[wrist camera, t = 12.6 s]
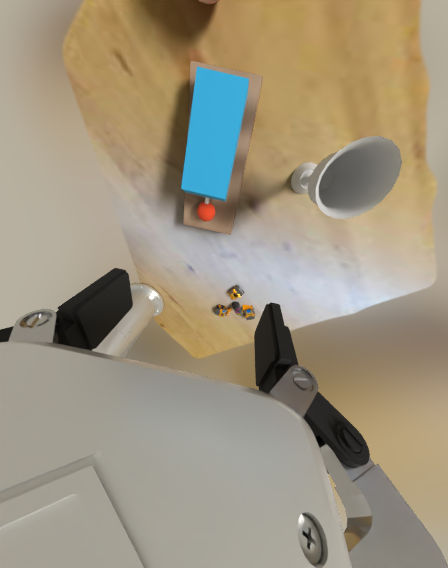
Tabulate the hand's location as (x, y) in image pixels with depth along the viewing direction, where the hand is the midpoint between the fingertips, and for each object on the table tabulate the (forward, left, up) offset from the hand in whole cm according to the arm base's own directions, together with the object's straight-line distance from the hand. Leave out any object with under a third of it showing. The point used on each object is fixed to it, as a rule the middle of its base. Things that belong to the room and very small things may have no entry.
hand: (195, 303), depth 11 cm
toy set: (-24, -5, -31) cm, 40 cm away
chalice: (+9, -12, -31) cm, 34 cm away
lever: (+8, +5, -26) cm, 28 cm away
